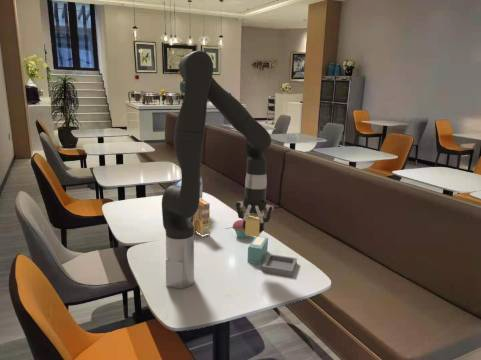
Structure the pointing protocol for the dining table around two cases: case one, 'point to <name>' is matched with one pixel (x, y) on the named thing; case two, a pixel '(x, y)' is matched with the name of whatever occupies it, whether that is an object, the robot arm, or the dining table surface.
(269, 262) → the tray
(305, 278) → the dining table surface
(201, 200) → the candy box
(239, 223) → the cupcake
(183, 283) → the robot arm
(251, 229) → the tan box block
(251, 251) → the teal box with tabs
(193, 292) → the dining table surface
